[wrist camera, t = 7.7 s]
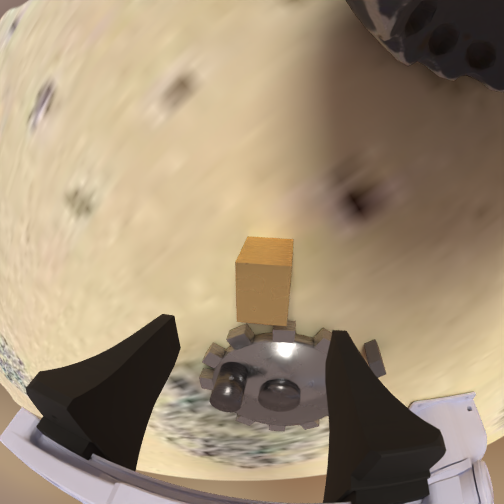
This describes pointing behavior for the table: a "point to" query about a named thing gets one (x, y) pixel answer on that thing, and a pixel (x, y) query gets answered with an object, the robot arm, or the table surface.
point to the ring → (441, 35)
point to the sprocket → (269, 376)
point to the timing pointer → (374, 358)
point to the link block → (264, 280)
